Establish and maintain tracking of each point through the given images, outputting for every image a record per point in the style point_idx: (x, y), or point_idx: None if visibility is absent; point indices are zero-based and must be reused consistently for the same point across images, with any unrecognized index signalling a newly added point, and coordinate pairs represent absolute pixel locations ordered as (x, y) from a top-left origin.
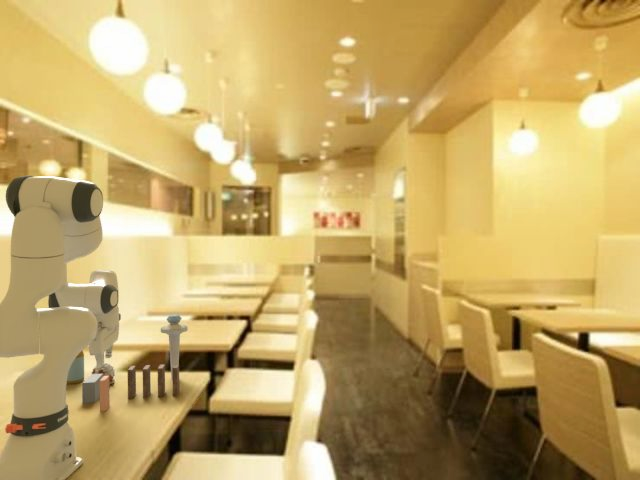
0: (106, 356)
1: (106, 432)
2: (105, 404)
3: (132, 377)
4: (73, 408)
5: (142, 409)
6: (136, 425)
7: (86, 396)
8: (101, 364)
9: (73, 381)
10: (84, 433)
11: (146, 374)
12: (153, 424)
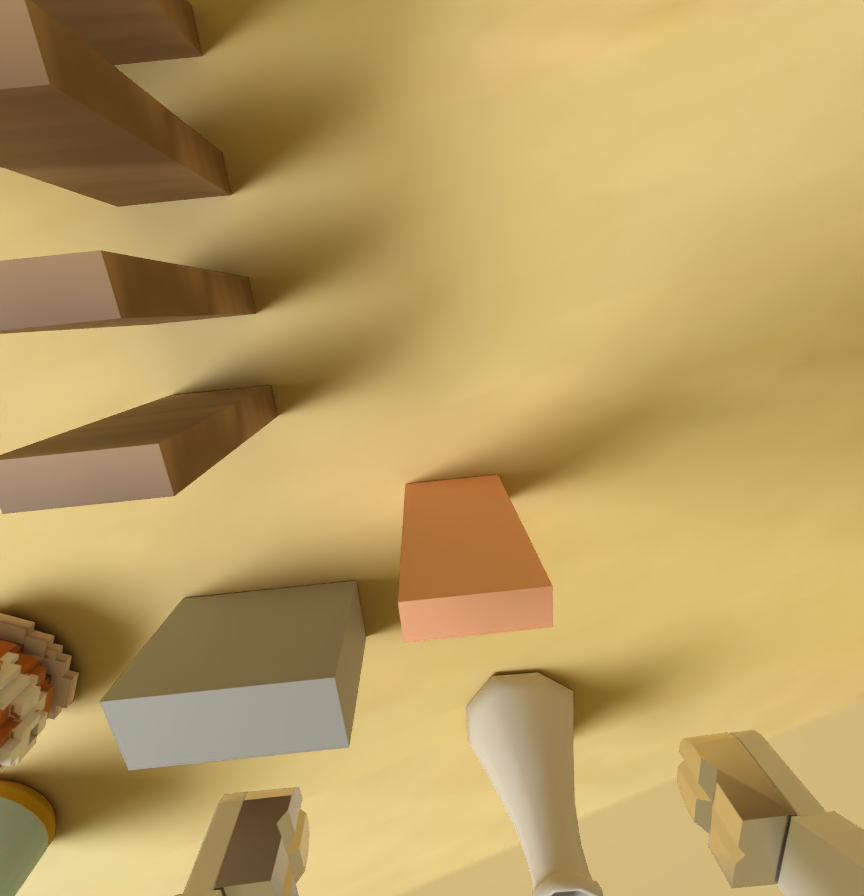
0: (304, 855)
1: (835, 344)
2: (497, 490)
3: (201, 420)
4: (436, 648)
5: (493, 239)
6: (781, 186)
7: (357, 647)
8: (771, 759)
9: (40, 814)
10: (809, 458)
11: (150, 270)
12: (799, 54)
